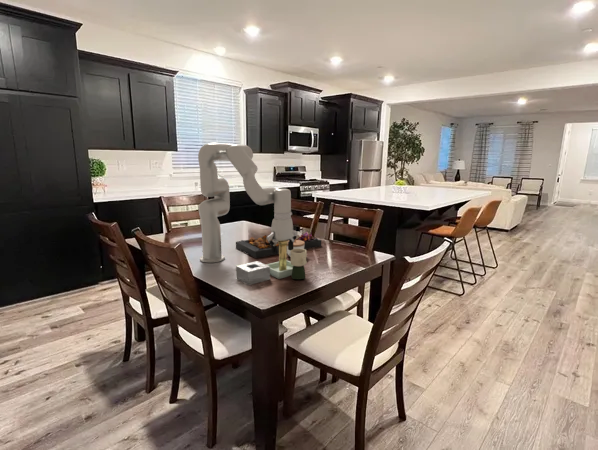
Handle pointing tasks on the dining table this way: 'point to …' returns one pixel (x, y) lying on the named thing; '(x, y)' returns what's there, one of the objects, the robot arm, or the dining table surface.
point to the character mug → (298, 263)
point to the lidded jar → (296, 246)
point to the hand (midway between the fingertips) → (282, 251)
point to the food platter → (263, 247)
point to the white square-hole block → (253, 272)
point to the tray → (280, 274)
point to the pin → (283, 255)
